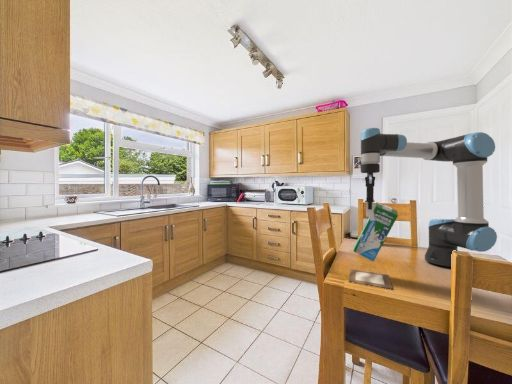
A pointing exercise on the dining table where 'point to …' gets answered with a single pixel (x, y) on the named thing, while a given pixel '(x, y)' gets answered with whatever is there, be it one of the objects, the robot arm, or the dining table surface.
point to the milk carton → (375, 231)
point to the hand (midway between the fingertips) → (369, 216)
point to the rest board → (370, 279)
